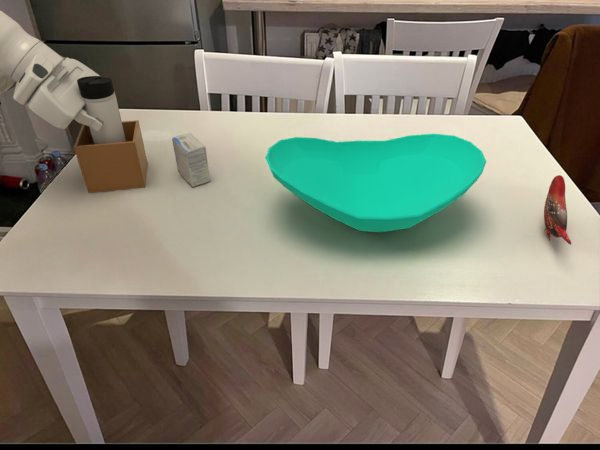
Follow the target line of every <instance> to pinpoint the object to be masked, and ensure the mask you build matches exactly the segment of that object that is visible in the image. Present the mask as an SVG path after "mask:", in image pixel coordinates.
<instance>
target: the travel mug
mask: <svg viewBox="0 0 600 450" xmlns="http://www.w3.org/2000/svg"><path fill="white" fill-rule="evenodd" d="M77 83H78V87H79V90H80V94H81V96H82V98H83V99H84V101H85V103H86V104H85V105H84V107H83V110H84V111H85V112H87V115H89V116H91V117H94V118H96V117H97V118H99V119H100V120H102V121H103V122H104V124H103V126H102V127H101V128H100V130H99V131H96V130H95V129H93V128H92V127H90V126H89V127H90V131H91V134H92V138H93V142H94V144H107V143H119V142H126V138H125V134H124V129H123V125H122V122H123V120H122V117H121V112H120V108H119V103H118V100H117V95H116V92H115V89H114V84H113V80H112V78H111V77H101V75H99V76H88V77H82V78H79V79H78V80H77Z"/></svg>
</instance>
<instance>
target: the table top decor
mask: <svg viewBox="0 0 600 450" xmlns="http://www.w3.org/2000/svg"><path fill="white" fill-rule="evenodd" d="M265 161H266V163H267V165H268V167H269V170H270V172H271V175H272V177H273V178H274V179H275V180H276V181H277V182H278V183H280V184H281V185H282V186H283V187H284V188H285V189H287V191H289V192H291V194H293V195H294V196H296V197H297V198H298V199H301V200H302V201H303V202H305V203H307V204H308V205H309V206H311V207H312V208H315V209H316V210H318V211H320V212H321V213H323V214H325V215H326V216H329V217H330V218H332V219H333V220H335V221H338V222H340V223H342V224H344V225H346V226H349V227H350V228H352V229H355V230H357V231H359V232H369V233H386V232H392V231H399V230H400V231H401V230H406V229H410V228H412V227H414V226H416V225H418V224H420V223H421V222H423V221H425V220H427V219H429V218H430V217H432V216H434V215H436V214H438V213H439V212H441V211H443V210H445V209H446V208H447V207H449V206H450V205H452V204H453V203H454V202H456V201H457V200H458V199H460V198H462V197H463V196H464V195H465V194H466V193H467V192H468V191H469V190H470V189H471V188H472V186H473V185H474V184H475V183H476V182H477V181H478V180H479V178H481V176H482V174H483V173H484V170H485V167H486V164H487V160H486V158H485V155H484V153H483V150H481V149H480V148H479V147H477V146H476V145H475V144H474V143H473V142H471V141H469V140H467V139H464V138H462V137H459V136H458V135H457V136H456V135H454V134H453V135H451V134H441V133H425V134H422V133H421V134H411V135H405V136H400V137H396V138H391V139H386V140H347V141H346V140H345V141H344V140H343V141H333V140H328V139H323V138H317V137H304V136H302V137H301V136H294V137H289V138H283V139H279V140H278V141H277V142H275V143H274V144H273V145H271V146H269V148H268V149H267V152H266V156H265Z"/></svg>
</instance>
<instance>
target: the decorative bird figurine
mask: <svg viewBox="0 0 600 450" xmlns="http://www.w3.org/2000/svg"><path fill="white" fill-rule="evenodd" d="M547 191H548V192H547V195H546V198H545V202H544V208H543V209H544V210H543V220H544V221H543V222H544V232H545V234H546V236H547V239H548V241H549V242H550V241H551V236H553V237H555V238H562V239H563V240H564V241H565V242H566V243H567V244H568V245H572V241H571V238H570V237H569V235H568V232H567V229H568V210H567V202H566V181H565V178H564V176H563V175H560V174H558V175H556V176H554V177H553V179H552V181H551V183H550V185H549V187H548V190H547Z"/></svg>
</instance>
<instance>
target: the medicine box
mask: <svg viewBox="0 0 600 450" xmlns="http://www.w3.org/2000/svg"><path fill="white" fill-rule="evenodd" d="M171 140H172V146H173V152H174V156H175V163H176V169H177V173H179V174H180V175H181V176H182V178H184V180H185V181H186V182H187V183H188V184H189V185H190V186H191V187H192V188H194V187H197V186H202V185H203V184H207V183H210V182H211V175H210V167H209V161H208V154H207V148H206V145H204V144H203V143H202V142H201V141H200V140H199V139H198V138H197V137H195V135H194V134H192V133H191V132H188V133H183V134H180V135H176V136H174V137H173V136H172V138H171Z"/></svg>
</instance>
